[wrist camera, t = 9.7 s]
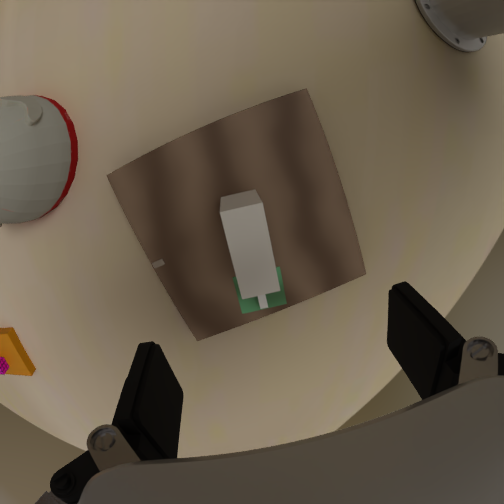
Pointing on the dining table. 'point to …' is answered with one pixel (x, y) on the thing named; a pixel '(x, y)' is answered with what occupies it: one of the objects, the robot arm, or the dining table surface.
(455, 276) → the dining table surface
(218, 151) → the dial board
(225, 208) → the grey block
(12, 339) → the orange block with cube
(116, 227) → the dining table surface
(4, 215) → the chicken figurine
